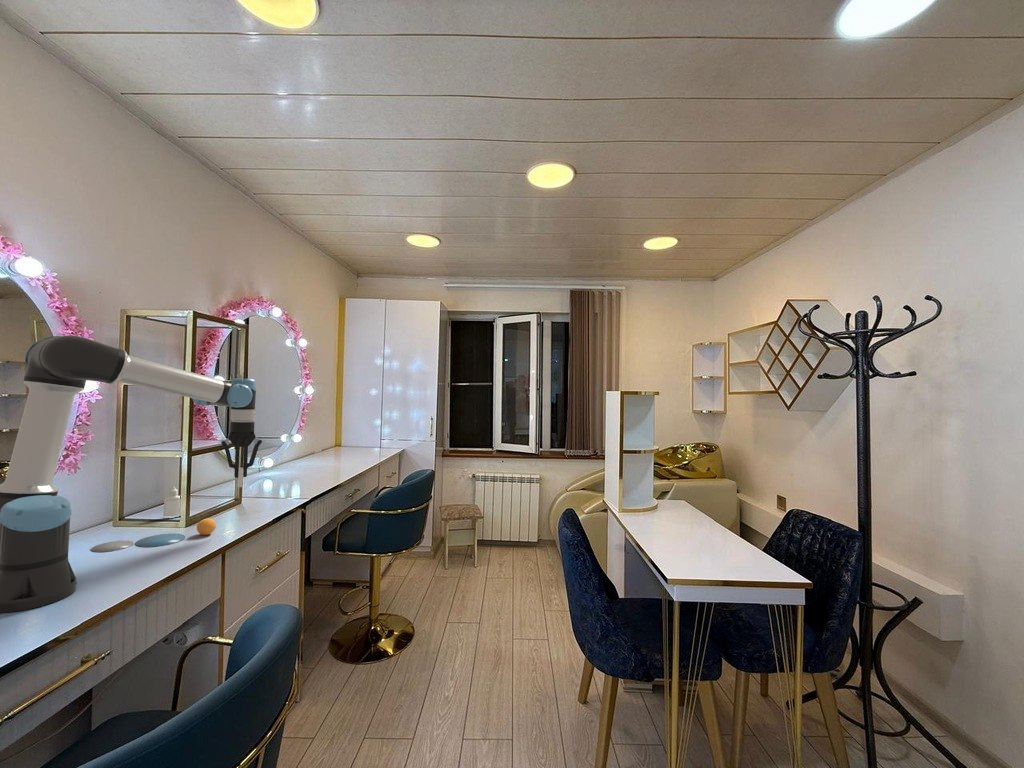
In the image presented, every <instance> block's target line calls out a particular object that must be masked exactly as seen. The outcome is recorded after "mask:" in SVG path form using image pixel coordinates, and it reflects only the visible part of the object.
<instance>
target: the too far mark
mask: <svg viewBox="0 0 1024 768" xmlns="http://www.w3.org/2000/svg"><path fill="white" fill-rule="evenodd" d="M131 545H132V546H133V545H134V541H132V540H113V541H108V542H103V543H99V544H97V545H94V546H93V547H91V548H90V549H91V550H92V551H91V552H93V551H94V553H109V551H110V552H115V551H114V550H116V551H119V550H120V549H121V550H124V549H127V548H129V546H130V547H131Z"/></svg>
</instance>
